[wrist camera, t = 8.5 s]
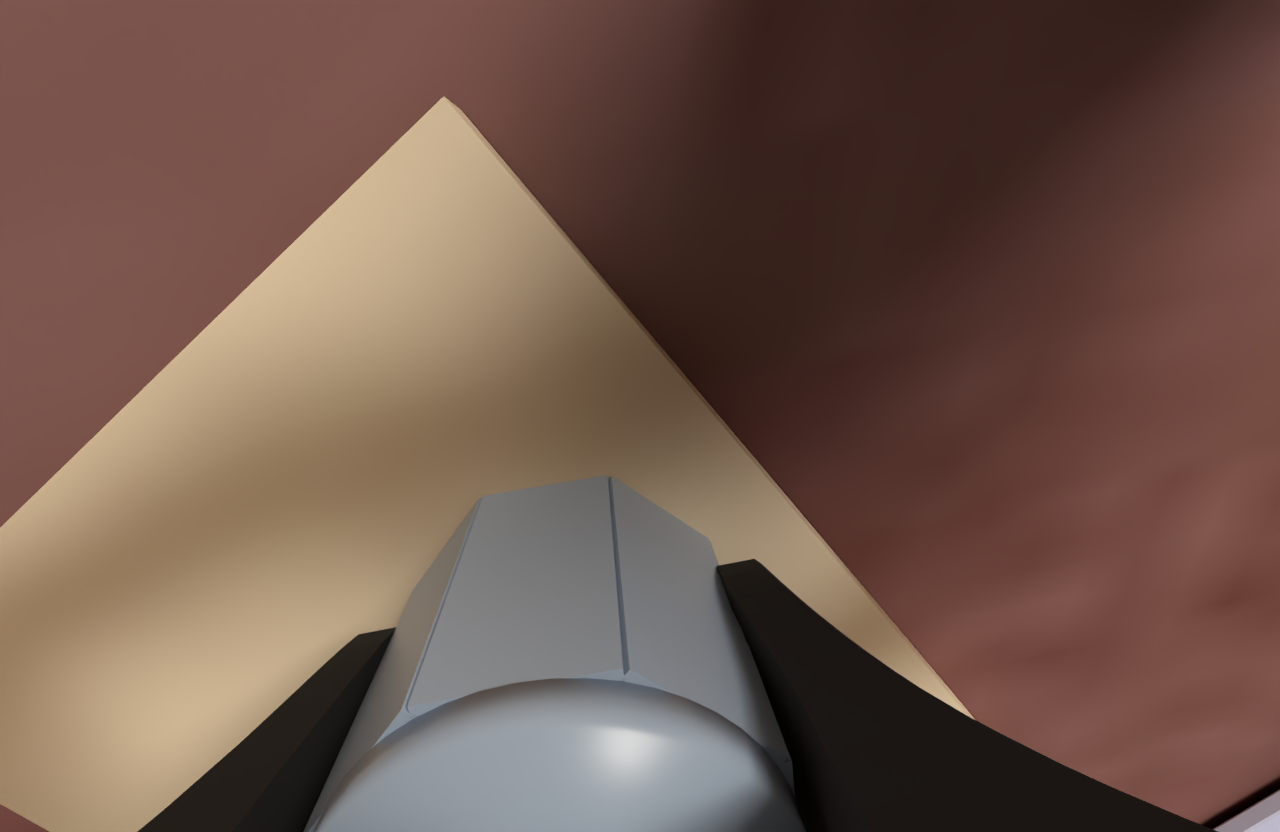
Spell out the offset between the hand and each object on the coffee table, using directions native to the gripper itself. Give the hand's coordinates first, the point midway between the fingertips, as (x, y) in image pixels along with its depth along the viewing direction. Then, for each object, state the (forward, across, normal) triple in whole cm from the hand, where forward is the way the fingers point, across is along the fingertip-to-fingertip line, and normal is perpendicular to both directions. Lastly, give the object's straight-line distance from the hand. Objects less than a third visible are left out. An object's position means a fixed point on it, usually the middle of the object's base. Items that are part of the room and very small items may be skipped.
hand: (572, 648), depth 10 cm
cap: (+1, 0, 0) cm, 1 cm away
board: (+2, +1, +4) cm, 5 cm away
